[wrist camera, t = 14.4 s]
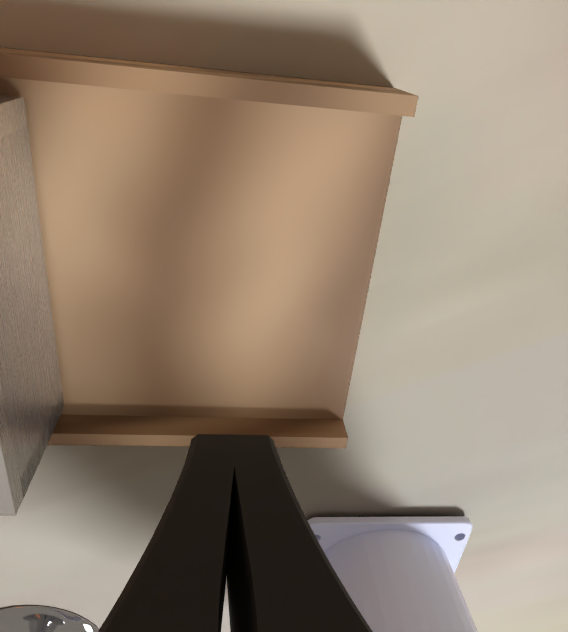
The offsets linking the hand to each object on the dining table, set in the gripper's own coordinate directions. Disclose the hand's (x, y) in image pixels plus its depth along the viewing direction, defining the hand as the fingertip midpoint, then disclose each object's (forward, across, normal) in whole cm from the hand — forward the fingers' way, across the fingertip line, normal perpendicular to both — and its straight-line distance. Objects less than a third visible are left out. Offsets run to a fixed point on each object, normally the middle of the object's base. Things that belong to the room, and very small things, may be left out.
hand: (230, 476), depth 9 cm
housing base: (+9, +5, 0) cm, 11 cm away
